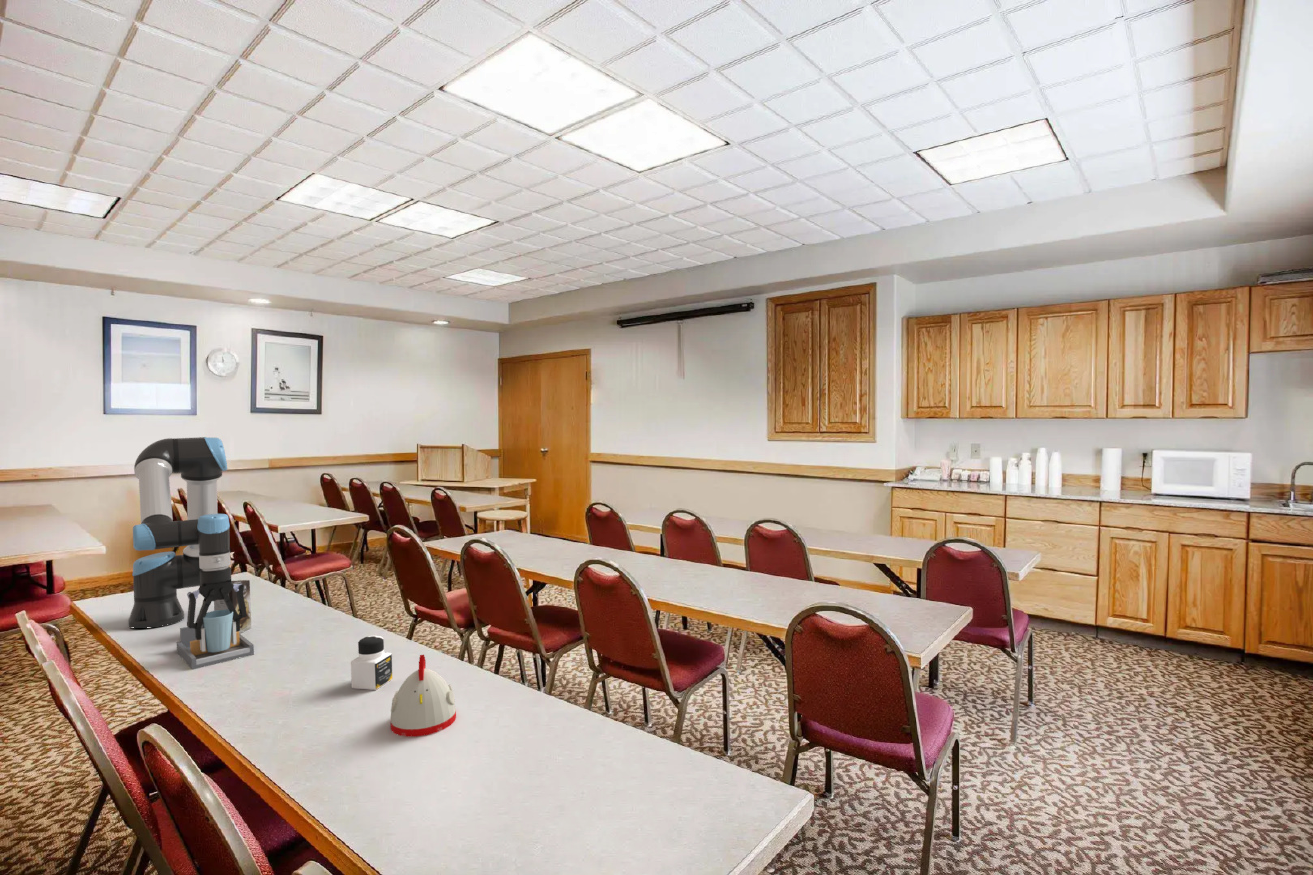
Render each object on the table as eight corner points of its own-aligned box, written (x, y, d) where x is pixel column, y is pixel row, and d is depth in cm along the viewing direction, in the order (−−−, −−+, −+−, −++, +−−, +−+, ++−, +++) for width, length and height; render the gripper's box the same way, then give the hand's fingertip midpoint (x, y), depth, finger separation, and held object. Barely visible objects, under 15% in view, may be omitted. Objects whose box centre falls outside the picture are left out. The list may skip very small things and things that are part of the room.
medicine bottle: (376, 690, 164) (374, 643, 164) (351, 688, 166) (349, 642, 165) (393, 679, 171) (391, 634, 171) (368, 677, 173) (367, 632, 172)
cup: (235, 642, 195) (234, 607, 195) (233, 650, 189) (232, 615, 188) (204, 646, 191) (203, 612, 191) (201, 655, 185) (200, 619, 184)
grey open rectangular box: (176, 652, 195) (175, 629, 194) (235, 639, 205) (234, 617, 205) (192, 669, 181) (191, 644, 180) (253, 654, 192) (252, 630, 191)
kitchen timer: (386, 741, 139) (384, 671, 138) (394, 713, 152) (392, 649, 151) (455, 731, 142) (453, 663, 142) (456, 704, 156) (455, 642, 155)
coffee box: (234, 637, 207) (232, 586, 207) (214, 637, 208) (212, 587, 207) (252, 628, 216) (250, 579, 216) (233, 628, 217) (231, 579, 216)
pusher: (186, 650, 192) (186, 637, 192) (233, 640, 201) (233, 627, 201) (191, 656, 188) (191, 642, 187) (239, 645, 196) (239, 632, 196)
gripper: (176, 576, 179) (179, 659, 180) (258, 563, 194) (261, 640, 194) (170, 572, 185) (173, 653, 185) (250, 560, 199) (253, 635, 200)
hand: (218, 646), depth 190 cm, fingers closed on cup, 7 cm apart
